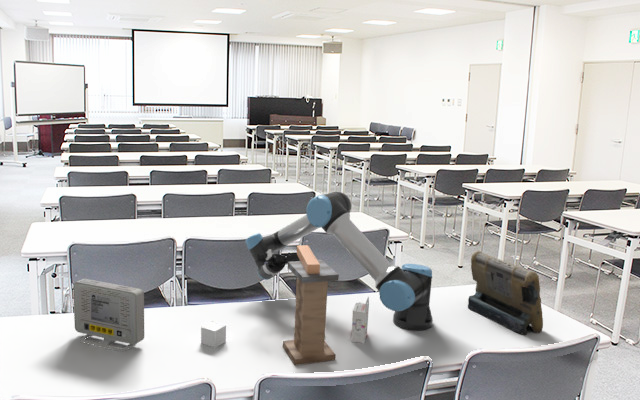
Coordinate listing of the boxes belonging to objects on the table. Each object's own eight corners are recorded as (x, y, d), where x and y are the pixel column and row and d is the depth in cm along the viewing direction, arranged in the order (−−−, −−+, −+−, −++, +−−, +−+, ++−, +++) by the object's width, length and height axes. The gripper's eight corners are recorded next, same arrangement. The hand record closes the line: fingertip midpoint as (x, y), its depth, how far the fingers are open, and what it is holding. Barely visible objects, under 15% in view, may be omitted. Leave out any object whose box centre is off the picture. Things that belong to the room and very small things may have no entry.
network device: (148, 343, 193) (148, 287, 189) (132, 354, 185) (131, 295, 181) (87, 329, 201) (85, 276, 197) (69, 339, 193) (66, 283, 189)
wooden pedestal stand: (282, 345, 196) (285, 262, 191) (319, 340, 201) (324, 259, 196) (295, 366, 182) (299, 277, 176) (336, 361, 187) (341, 274, 181)
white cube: (214, 348, 192) (214, 331, 191) (201, 343, 195) (201, 327, 194) (225, 341, 197) (226, 325, 196) (212, 337, 200) (212, 321, 199)
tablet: (548, 330, 220) (556, 269, 215) (526, 338, 212) (534, 274, 208) (482, 302, 246) (488, 247, 242) (460, 308, 239) (465, 251, 234)
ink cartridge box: (353, 332, 210) (356, 294, 207) (367, 333, 209) (369, 295, 206) (350, 341, 202) (352, 302, 199) (364, 343, 201) (366, 304, 198)
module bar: (296, 253, 201) (296, 245, 200) (307, 253, 202) (308, 245, 201) (307, 273, 180) (307, 264, 179) (319, 273, 181) (319, 264, 180)
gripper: (304, 271, 233) (321, 259, 214) (244, 275, 225) (256, 263, 206) (302, 253, 236) (318, 240, 217) (243, 256, 227) (254, 243, 208)
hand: (288, 251), depth 211 cm, fingers open, 13 cm apart
